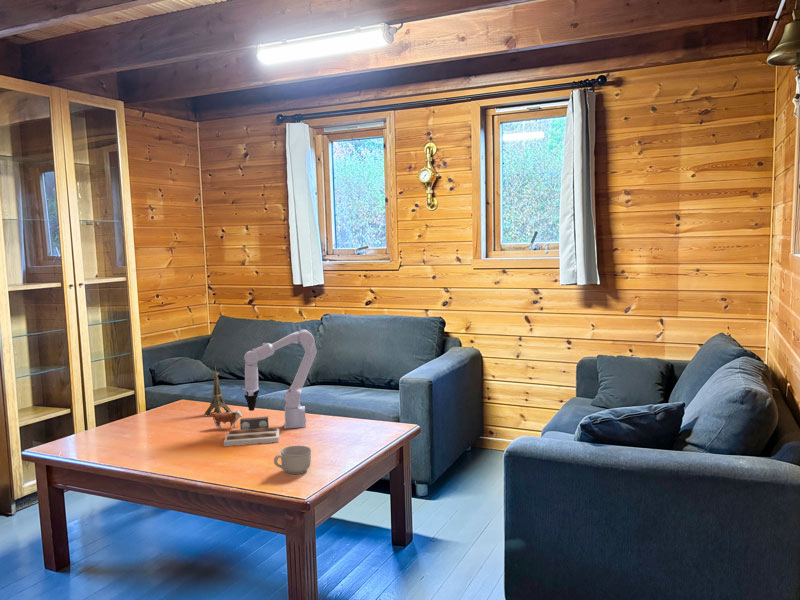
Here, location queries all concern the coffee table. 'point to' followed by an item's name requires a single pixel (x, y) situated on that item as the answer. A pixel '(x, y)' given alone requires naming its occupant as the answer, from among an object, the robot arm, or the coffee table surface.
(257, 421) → the grey rectangular block
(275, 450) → the coffee table surface
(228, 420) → the bull figurine
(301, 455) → the teacup
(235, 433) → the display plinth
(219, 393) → the eiffel tower
